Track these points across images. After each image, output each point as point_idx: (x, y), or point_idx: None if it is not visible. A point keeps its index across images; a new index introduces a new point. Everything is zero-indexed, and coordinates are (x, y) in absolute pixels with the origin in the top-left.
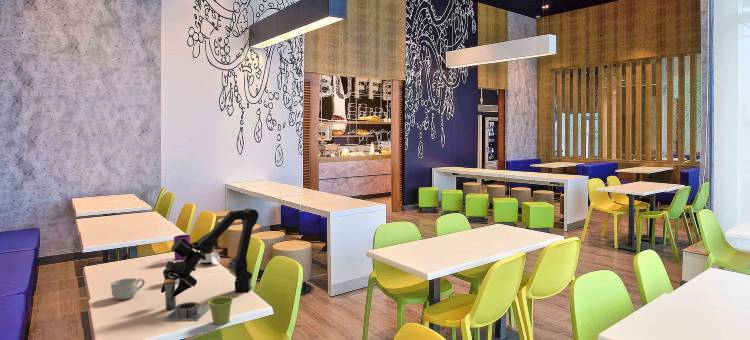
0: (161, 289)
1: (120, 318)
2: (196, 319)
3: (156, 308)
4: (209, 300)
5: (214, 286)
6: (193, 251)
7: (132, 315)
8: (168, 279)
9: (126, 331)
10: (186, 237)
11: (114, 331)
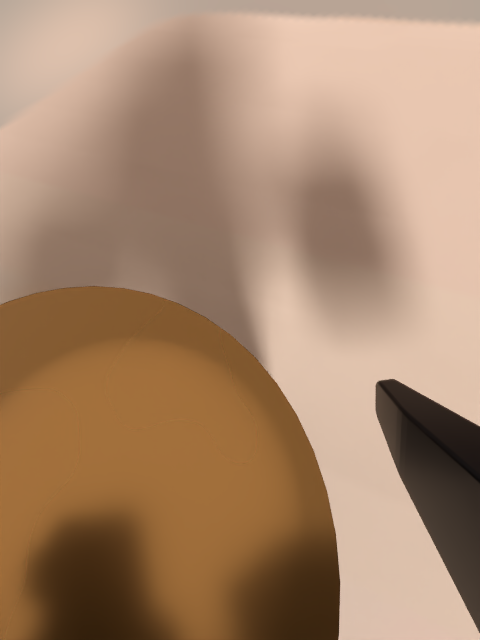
0: (414, 394)
1: (322, 116)
2: None
3: (355, 364)
4: None
5: None
6: None
7: (323, 181)
8: (67, 494)
9: (70, 103)
10: None
11: (127, 63)
